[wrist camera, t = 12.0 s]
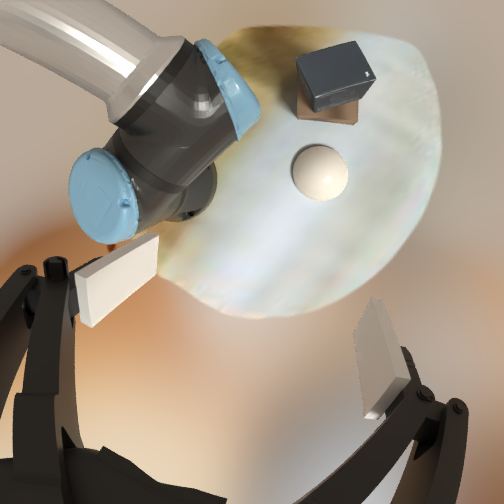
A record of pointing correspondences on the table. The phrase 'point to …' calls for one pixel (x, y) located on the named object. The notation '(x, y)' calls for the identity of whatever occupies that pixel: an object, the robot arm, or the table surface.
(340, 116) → the block
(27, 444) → the robot arm
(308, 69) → the box
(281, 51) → the table surface
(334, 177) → the coaster
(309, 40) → the table surface
